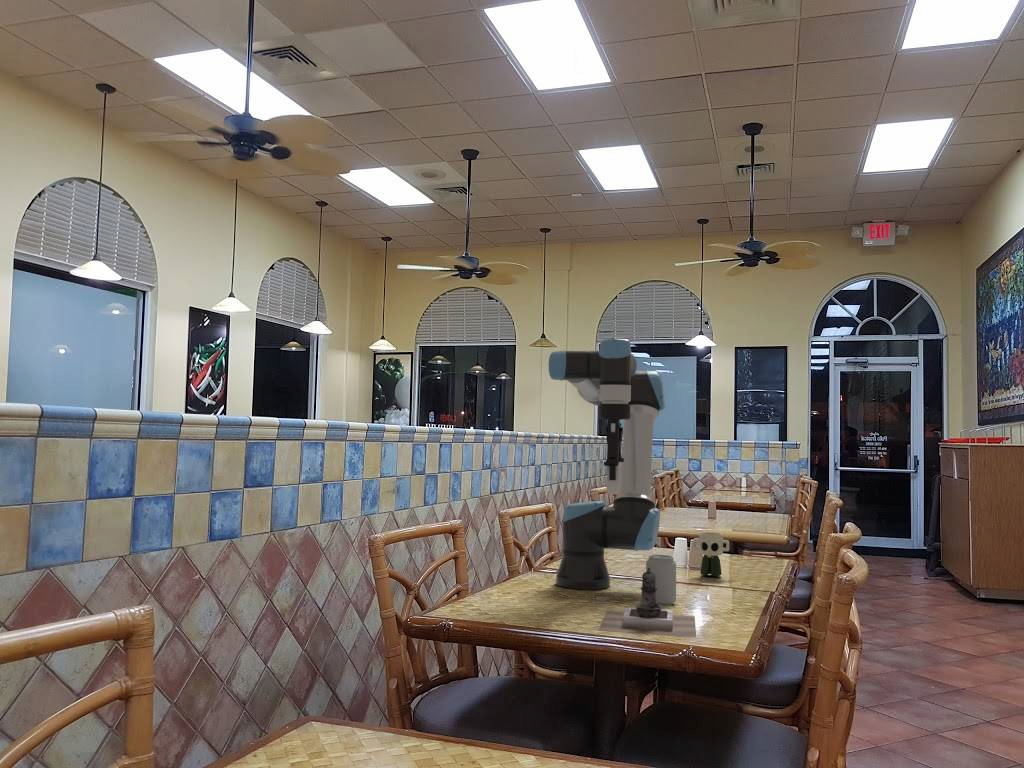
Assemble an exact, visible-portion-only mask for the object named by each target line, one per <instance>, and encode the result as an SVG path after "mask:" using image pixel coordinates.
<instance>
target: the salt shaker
mask: <svg viewBox="0 0 1024 768" xmlns="http://www.w3.org/2000/svg"><path fill="white" fill-rule="evenodd" d="M650 570H651V569H650V568H648V571H647V572H646V571H644V572H643V573H642V574H641V575H642V580H641V581H642V583H641V584H642V586H641V587H640V590H641V598H640V599H641V600H640V602H639V603H636V604H635V605H634V608H637V613H638V615H639V616H640V617H647V618H657V617H658V616H659V615H660V612H661V609H662V610H663V605H658V604H657V602H656V590H657V588H655V584H656V576H655V574H654V573H653V572H651V571H650Z"/></svg>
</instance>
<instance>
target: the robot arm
mask: <svg viewBox="0 0 1024 768" xmlns="http://www.w3.org/2000/svg"><path fill="white" fill-rule="evenodd" d="M637 369H638V364H637V360H636V357H635V355H633V354H632V347H631V341H630V340H629V339H626V338H605V339H602V340H601V341H600V342H599V350H565V349H563V350H558V351H552V352H551V353H550V355H549V357H548V374H549V376H550V378H551V379H552V380H553V381H554V380H555V381H567V382H568V383H570V384H571V385H572V386H573V387H574V388H575V389H577V392H578V394H579V396H580V397H581V398H582V400H584V401H586V402H587V403H590V404H592V405H594V406H597V407H598V418H599V419H600V420H608V422H609V423H607V426H606V427H605V434H606V443H607V449H606V461H603V467H606V495H614V496H615V495H617V496H616V497H615V498H614V499H613V506H606V503H605V501H603V500H595V501H583V502H575V503H570V504H567V505H566V506H565V507H564V509H563V517H562V518H563V520H562V523H563V524H562V558H561V561H560V563H559V567H558V570H557V573H556V577H555V584H556V586H559V587H562V588H566V589H573V590H602V589H607V588H609V587H610V585H611V578H610V573H609V571H608V566H607V563H606V561H605V549H610V550H611V549H612V550H625V551H627V550H628V551H634V552H639V551H651V550H652V549H654V547H655V545H656V543H657V539H658V535H659V530H660V529H659V528H660V521H661V520H660V519H661V510H660V509H659V508H657V507H656V502H655V501H654V500H653V499H652V498H651V481H652V480H651V479H652V461H653V460H652V459H653V443H654V442H653V440H654V439H653V438H654V421H655V420H656V419H657V418H659V417H660V411H663V410H665V408H666V406H665V403H666V402H665V393H664V385H663V378H662V375H661V373H660V372H658V371H656V370H647V369H644V370H637ZM621 420H623V422H624V423H623V426H622V423H621Z"/></svg>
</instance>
